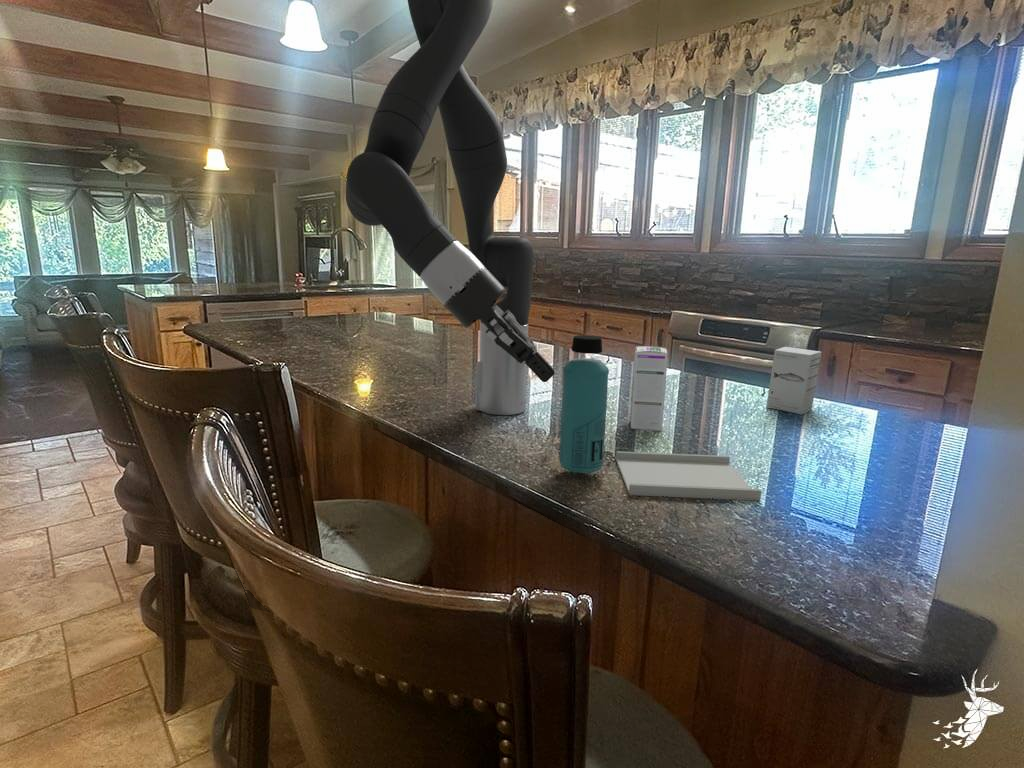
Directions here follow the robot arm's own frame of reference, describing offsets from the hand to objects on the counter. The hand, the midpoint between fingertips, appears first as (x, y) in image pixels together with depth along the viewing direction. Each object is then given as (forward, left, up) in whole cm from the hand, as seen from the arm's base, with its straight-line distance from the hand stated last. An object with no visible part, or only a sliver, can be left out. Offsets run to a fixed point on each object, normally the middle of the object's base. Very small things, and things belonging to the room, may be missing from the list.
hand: (549, 377), depth 78 cm
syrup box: (+12, +29, -14) cm, 35 cm away
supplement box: (+40, +54, -14) cm, 69 cm away
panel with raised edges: (+19, +5, -14) cm, 24 cm away
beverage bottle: (+5, +1, -14) cm, 15 cm away
